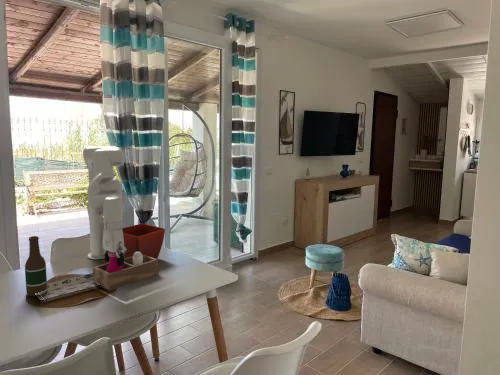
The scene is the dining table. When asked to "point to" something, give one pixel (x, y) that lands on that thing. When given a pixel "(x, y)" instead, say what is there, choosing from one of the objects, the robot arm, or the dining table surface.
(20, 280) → the dining table surface
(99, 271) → the caddy
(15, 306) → the dining table surface
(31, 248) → the beer bottle
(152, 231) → the plant pot
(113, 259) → the pepper mill
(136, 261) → the salt shaker
